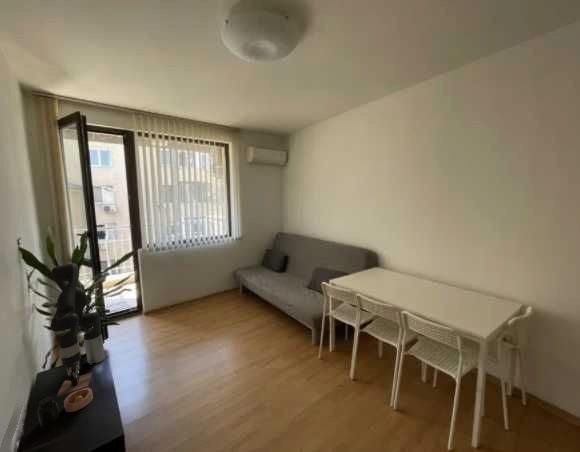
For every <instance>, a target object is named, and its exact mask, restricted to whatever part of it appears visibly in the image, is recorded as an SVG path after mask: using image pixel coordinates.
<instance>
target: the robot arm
mask: <svg viewBox="0 0 580 452" xmlns="http://www.w3.org/2000/svg"><path fill="white" fill-rule="evenodd" d="M51 276H52V278H53V281H54V282H55V283H56V284H57V286H58V287H59V289H60V290H61V292H60V294H58V297H57V301H56V311H55V313H54V315H53V318H52V320H51V323H50V329H51V330H52V332H55V333H57V332H61V331H66V330H68V329H69V330H68V331H66V332H64V333H62V334H61V335H59V336H58V345H59V354H60V360H61V365H62V366H66V371H67V373H65V377H66V378H67V380H69V381H71V383H72V386H75V385H77V384H78V381H77V375H76V374H78V379H79V376H80V375H79V374H80V370H81V368H80V366H81V365H80V363H81V362H80V360H81V358H82V354H81V347H80V344H79V339H78V327H79V329H81V330H82V329H88V328H92V329H90V330H88V331H87V332H86V331H85V333H84V334H83V340H84V341H83V342H84V346H85V347H84V348H85V353H86V358H87V359H86V360H87V364H88V363H89V364H88V365H93V364H92V363H96V364H98V363H100V362H102V361H103V360H105V358H106V354H105V349H104V348H105V347H104V342H103V334H102V326H101V316H100V313H99V312H98V311H94V312H89V313H84V310H85V308H86V306H87V304H88V302H89V299H88V296H87V294H86V293H87V292H85V290H84V289H83V288H81V287H79V286H78V284H79V283H78V282H79V278H80V269H79V266H78V264H76V263H74V262H73V263H67V264H63V265H58V266H55V267H53V268H52V269H51Z"/></svg>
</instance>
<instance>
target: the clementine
mask: <svg viewBox="0 0 580 452" xmlns="http://www.w3.org/2000/svg"><path fill="white" fill-rule="evenodd" d="M81 399H83V396H78V397H76V398H75V400H74V402H77V401H79V400H81Z"/></svg>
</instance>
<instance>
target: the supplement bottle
mask: <svg viewBox="0 0 580 452" xmlns="http://www.w3.org/2000/svg"><path fill="white" fill-rule="evenodd" d="M37 416H38V421H39V425H40V427H41V428H46V427H49V426H50V425H53V424H54V423H56V422H57V421H58V420H59V418H60V411H59V406H58V403H57V401H55V400H54V397H53V396H47V397H45V398H43V399H41V400H40V401H39V402H38V408H37Z"/></svg>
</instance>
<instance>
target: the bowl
mask: <svg viewBox="0 0 580 452" xmlns="http://www.w3.org/2000/svg"><path fill="white" fill-rule="evenodd" d="M93 395H94V394H93V389H92V388H90V387H87V388H84V389H81V390H79V391H76V392H73V393H70V394H68V395H67V397H65V399H64V401H63V407H64V410H65V411H66V412H67V413H73V412H76V411H79V410H81V409H83V408H85V407H86V406H88V404H90V403H91V402H92V401H93V397H94V396H93ZM78 396H83V399H81V400H79V401H77V402H74V400H75V398H76V397H78Z"/></svg>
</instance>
